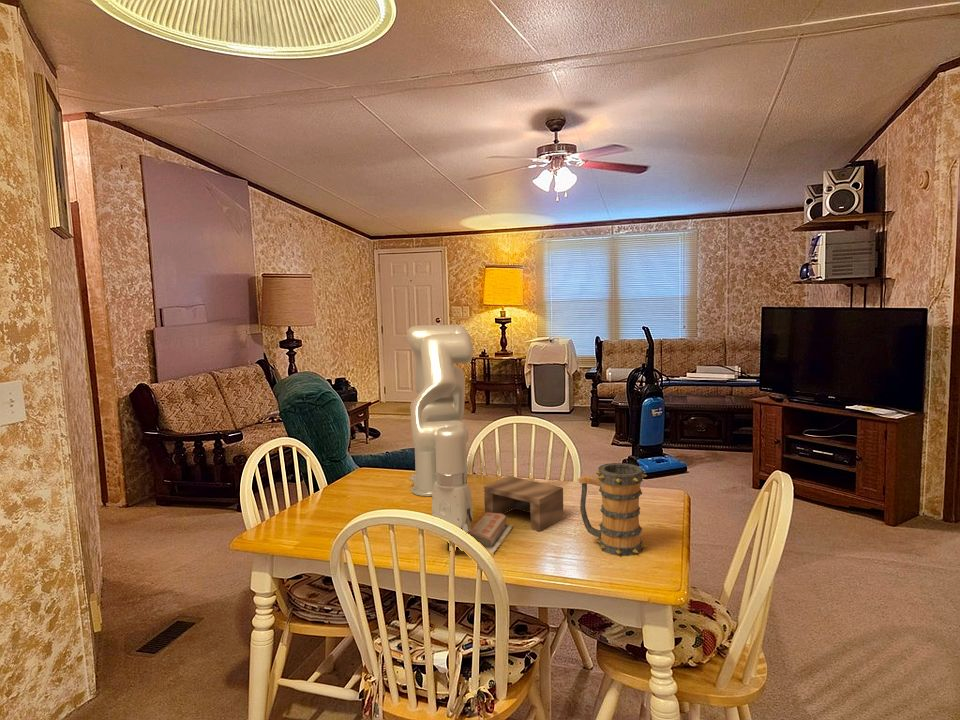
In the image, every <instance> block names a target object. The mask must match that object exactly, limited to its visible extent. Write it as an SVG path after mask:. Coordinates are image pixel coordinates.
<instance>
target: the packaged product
mask: <svg viewBox="0 0 960 720" xmlns="http://www.w3.org/2000/svg"><path fill="white" fill-rule="evenodd" d="M506 523H507V515H505V514H501V513H490V512H486V513H485V512H484V513H483V514H482V515H481V517H479V519H478V520H476V522H475V523H474V524H473V525H472V526H471V531H468V532H466V534H467V533H468V534H470V535H471V536H473V537H474V538H475V539H476V540H477V541H478V542H480V543H481V544H482V545H483V546H484V547H485V548H486V549H487V550H488V551H489V552H490V553H491V554H494V552H495V551H496V550H497V551H498V549H499V548H500V546H501V545H502V544H503V542H504V541H505V540H506V539H505V537H506V536H509V534H510V533H509V532H512V530H511V529H514V525H510V524H506ZM506 538H507V537H506ZM504 539H505V540H504ZM503 540H504V541H503ZM502 541H503V542H502ZM501 543H502V544H501ZM500 544H501V545H500ZM499 545H500V546H499ZM498 547H499V548H498ZM497 548H498V549H497ZM497 551H496V552H497ZM458 552H462V551H461V550H459V551H458ZM496 552H495V553H496ZM494 555H495V554H494Z"/></svg>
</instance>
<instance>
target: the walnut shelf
mask: <svg viewBox="0 0 960 720" xmlns="http://www.w3.org/2000/svg"><path fill="white" fill-rule="evenodd" d="M483 492H484V494H483V496H484V497H483V499H484V500H483V501H484V514H485V513H486V512H490V513H501V514H503V513H504V514H506V513H508V512H510V511H512V510H515V508H516V510H519V509H520V510H521V511H523V510H525V511H524V512H527V511H528V513H530V530H531V529H532V530H531V531H535V530H536V531H535V532H540V531H541V532H542V531H544V530H545V529H548V528H549V527H551V526H553V525H554V523H555V524H556V523H558V522H559V520H560V521H561V520H563V519H564V487H563V486H558V485H552V484H549V483H548V484H547V483H543V482H540V481H539V482H538V481H535V480H529V479H523V478H519V477H515V476H511V475H507V476H506V477H503V478H501V479H499V480H496V481H494V482H491V483H489V484H487V485H484V486H483ZM511 509H512V510H511ZM509 510H510V511H509ZM520 510H519V511H520ZM507 511H508V512H507ZM505 512H506V513H505ZM504 514H503V515H504ZM562 518H563V519H562ZM547 527H548V528H547Z"/></svg>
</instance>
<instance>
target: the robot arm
mask: <svg viewBox="0 0 960 720" xmlns="http://www.w3.org/2000/svg"><path fill="white" fill-rule="evenodd" d="M406 340H407V343H408V346H409V348H410V349H411V351H412V353H413V356H414V387H415V390H416V393H417V394H418V395H417V397H415V398H413V400H412V401H411V402H410V406H409V408H410V428H411V437H412V438H411V439H412V443H413V446H414V461H415V463H414V465H415V466H414V467H415V468H414V469H415V470H414V471H415V473H412V475H411V476H410V477H409V478H408V479H409V480H408V481H410V482H413V486H411V493H412V494H414V495H417V496H422V497H431V517H432V516H434V517H438V518H440V519H443V520H445V521H447V522H450V523H452V524H454V525H456V526H457V527H459V528H461V529H462V530H464V531H465V532H464V533H467V532H468V531H471V528H472V525H471V524H472V523H473V521H474V518H473V517H474V511H473V501H472V500H473V499H472V492H471V488H470V484H469V483H468V459H467V443H468V442H469V428H468V426H467V425H466V423H465V422H464V421H462V420H463V418H464V413H465V396H466V378H465V374H464V370H463V369H462V368H461V367H460V366H458V364H468V363H470V362H471V361H472V359H473V356H474V344H473V340H472V338H471V336H470V334H469V333H468V330H467V329H466V328H465V326H463V325H462V324H429V325H413V326H411V327H409V328H408V330H407V331H406ZM456 364H457V365H456ZM446 543H447V544H446V545H447V546H446V547H447V552H449V543H448V542H447V541H446ZM458 550H460V549H459V548H458V547H456V552H459V551H458Z"/></svg>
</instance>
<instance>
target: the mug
mask: <svg viewBox="0 0 960 720" xmlns="http://www.w3.org/2000/svg"><path fill="white" fill-rule="evenodd" d="M643 471H644V470H643V469H642V467H640V466H638V465H635V464H631V463H624V462H612V463H605V464H601V465H599V467H598V470H597V471H594V472H593V473H594V474H595V475H597V476H598V477H596V476H594V475H593V476H591V475H587V474H585V475H583V474H582V475H581V476H580V477H578V478H576V480H577V482H578V483H579V484H581V494H580V495H581V496H580V503H579V504H580V507H579V508H580V509H579V511H580V514H581V519H582V522H583V524H584V525H583V526H584V527H585V529H586V531H587V532H588V533H589V534H590V535H592V536H594V537H596V538H597V539H596V540H594V542H596V543H598V549H600V550H602V551H603V552H605V553H607V554H609V555H613V556H617V557H622V556H623V557H629V556H635V555H637V554H640V553H641V552H642V550H643V548H646V547H647V545H646V544H644V543H643V540H642V538H641V533H642V531H643V528H642V527H641V526H640V525H641V524H640V520H639V518H640V517H639V515H640V514H641V513H640V511H641V507H640V506H639V502H640V501H639V500H640V497H641V496H642V495H643V492H642V490H641V483H642V482H643V479H644V478H645V477H648V475H647V474H645V473H644V472H643ZM588 485H593V486H597V487H599V489H598V491H599V492H600V494H601V497H602V498H601V499H602V504H601V505H600V507H601V509H600V512H601V513H602V517H601V518H602V520H601V522H600V523H599V524H598V525H599V529H598V528H595V527H593V526H592V525H591V523H590V521H589V518H588V514H587V509H586V505H587V504H586V501H587V493H588V492H587V491H588Z"/></svg>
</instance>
